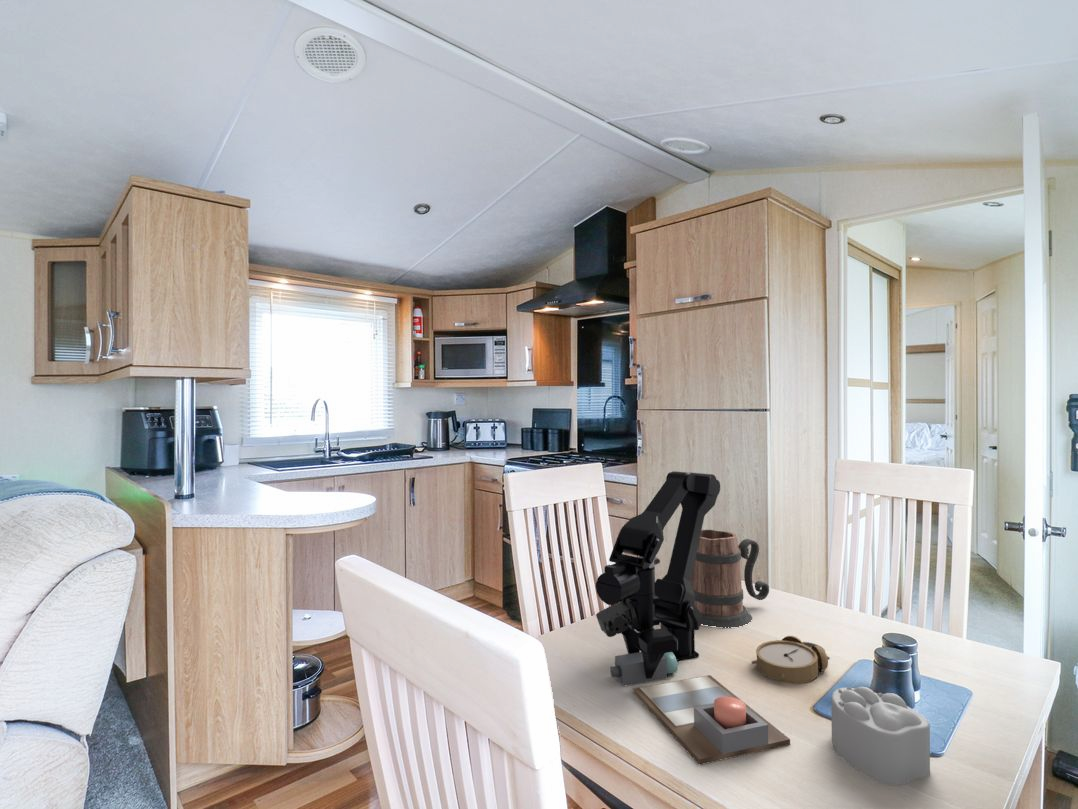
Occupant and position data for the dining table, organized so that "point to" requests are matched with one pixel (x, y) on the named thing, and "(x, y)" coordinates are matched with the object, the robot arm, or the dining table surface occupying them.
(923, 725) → the lumpy-topped squat cylinder
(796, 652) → the alarm clock
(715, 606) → the tankard
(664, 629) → the robot arm
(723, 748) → the button housing
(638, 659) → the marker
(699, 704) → the picture frame
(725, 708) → the button
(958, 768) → the dining table surface
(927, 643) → the dining table surface
